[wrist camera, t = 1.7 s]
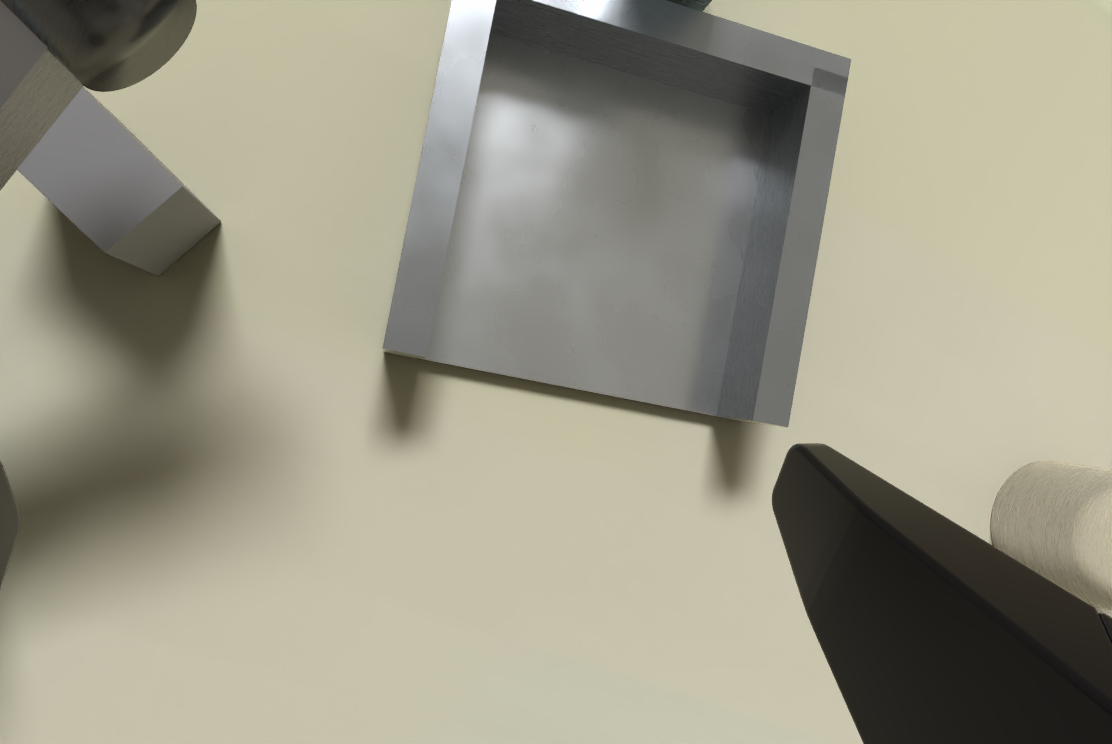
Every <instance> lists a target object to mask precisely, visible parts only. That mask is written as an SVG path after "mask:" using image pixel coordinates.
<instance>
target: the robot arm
mask: <svg viewBox="0 0 1112 744" xmlns="http://www.w3.org/2000/svg"><path fill="white" fill-rule="evenodd" d="M772 506H773V511H774V514H775V517H776V520H777V524H778V527H779V530H780V533H781V536H782V539H783V542H784V545H785V549H786V552H787V555H788V558H789V561H790V564H791V567H792V571H793V574H794V577H795V580H796V583H797V586H798V589H799V592H800V596H801V598H802V601H803V604H804V607H805V610H806V612H807V615H808V617H809V620H810V622H811V625H812V627H813V630H814V632H815V634H816V637H817V639H818V641H819V643H820V646H821V648H822V650H823V652H824V655H825V657H826V659H827V662H828V664H829V666H830V668H831V671H832V673H833V675H834V677H835V680H836V682H837V684H838V687H839V689H840V691H841V693H842V696H843V698H844V700H845V702H846V705H847V707H848V709H849V712H850V714H851V716H852V718H853V721H854V723H855V725H856V727H857V730H858V732H859V734H860V737H861V739H862V741H863V743H864V744H1112V618H1111V617H1110V616H1108V615H1106V614H1104V613H1098V612H1097V610H1096V608H1094V607H1093V606H1091V605H1089V604H1088V603H1086V602H1085V601H1083V600H1081V599H1080V598H1078V597H1076V596H1075V595H1073V594H1071V593H1070V592H1068V591H1066V590H1065V589H1063V588H1061V587H1060V586H1058V585H1056V584H1055V583H1053V582H1052V581H1050V580H1048V579H1047V578H1045V577H1043V576H1042V575H1040V574H1038V573H1037V572H1035V571H1033V570H1032V569H1030V568H1028V567H1027V566H1025V565H1023V564H1022V563H1020V562H1019V561H1017V560H1015V559H1014V558H1012V557H1010V556H1009V555H1007V554H1005V553H1004V552H1002V551H1000V550H999V549H997V548H995V547H994V546H992V545H990V544H989V543H987V542H986V541H984V540H982V539H981V538H979V537H977V536H976V535H974V534H972V533H971V532H969V531H967V530H966V529H964V528H962V527H961V526H959V525H958V524H956V523H954V522H953V521H951V520H949V519H948V518H946V517H944V516H943V515H941V514H939V513H938V512H936V511H934V510H933V509H931V508H930V507H928V506H926V505H925V504H923V503H921V502H920V501H918V500H916V499H915V498H913V497H911V496H910V495H908V494H906V493H905V492H903V491H902V490H900V489H898V488H897V487H895V486H893V485H892V484H890V483H888V482H887V481H885V480H883V479H882V478H880V477H878V476H877V475H875V474H873V473H872V472H870V471H869V470H867V469H865V468H864V467H862V466H860V465H859V464H857V463H855V462H854V461H852V460H850V459H849V458H847V457H845V456H844V455H842V454H841V453H839V452H837V451H836V450H834V449H832V448H831V447H829V446H827V445H825V444H819V443H814V444H796V445H793V446H792V447H791V448H790V449H789V451H788V453H787V455H786V458H785V460H784V463H783V466H782V468H781V471H780V473H779V476H778V479H777V481H776V484H775V486H774V489H773V494H772ZM19 526H20V516H19V510H18V507H17V504H16V501H15V499H14V496H13V493H12V490H11V487H10V485H9V482H8V479H7V476H6V473H5V471H4V468H3V465H2V463H1V461H0V588H1V585H2V582H3V579H4V576H5V573H6V570H7V567H8V564H9V561H10V558H11V555H12V552H13V548H14V545H15V542H16V539H17V536H18V532H19Z"/></svg>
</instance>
